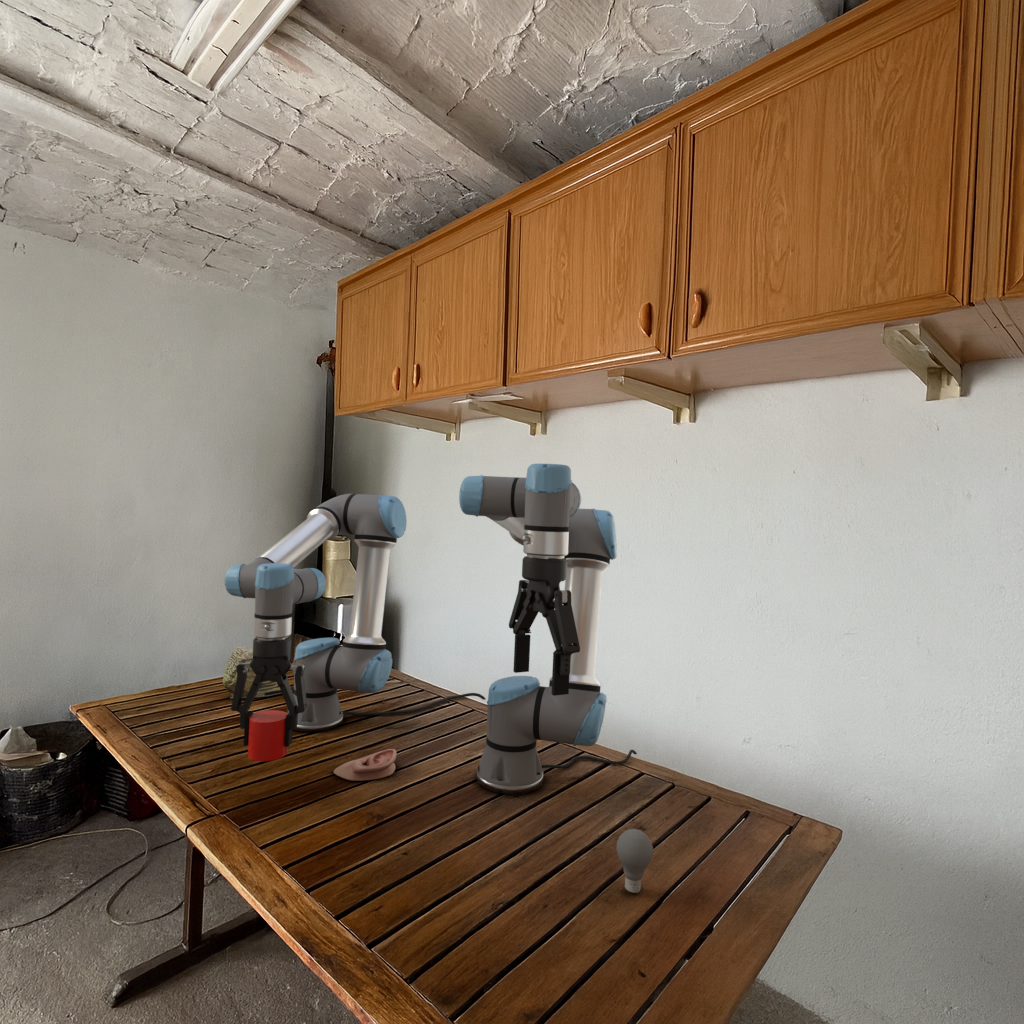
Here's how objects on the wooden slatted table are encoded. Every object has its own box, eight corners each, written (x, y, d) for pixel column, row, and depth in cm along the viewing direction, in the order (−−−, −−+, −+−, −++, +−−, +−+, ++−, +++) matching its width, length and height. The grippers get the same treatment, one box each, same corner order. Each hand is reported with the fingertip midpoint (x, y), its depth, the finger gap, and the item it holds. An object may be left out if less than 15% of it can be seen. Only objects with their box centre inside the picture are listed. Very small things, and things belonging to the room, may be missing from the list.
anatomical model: (327, 759, 142) (350, 741, 154) (326, 777, 143) (349, 757, 154) (382, 767, 140) (402, 748, 151) (382, 785, 140) (401, 764, 151)
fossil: (218, 695, 195) (220, 647, 195) (278, 685, 208) (279, 640, 207) (228, 703, 189) (230, 653, 188) (289, 692, 201) (290, 645, 201)
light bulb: (610, 879, 108) (613, 822, 108) (644, 879, 109) (647, 822, 109) (619, 902, 102) (622, 840, 102) (655, 901, 103) (658, 840, 103)
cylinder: (250, 764, 129) (252, 724, 129) (245, 750, 136) (246, 712, 136) (290, 757, 133) (291, 719, 133) (282, 744, 140) (284, 708, 140)
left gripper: (215, 639, 130) (210, 749, 130) (317, 642, 131) (313, 751, 131) (229, 631, 137) (225, 736, 137) (325, 634, 139) (321, 738, 139)
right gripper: (493, 549, 115) (488, 665, 116) (564, 564, 93) (557, 707, 93) (530, 549, 119) (525, 662, 119) (606, 564, 96) (600, 702, 97)
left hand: (268, 743), depth 134 cm, fingers closed on cylinder, 8 cm apart
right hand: (539, 682), depth 106 cm, fingers open, 13 cm apart
